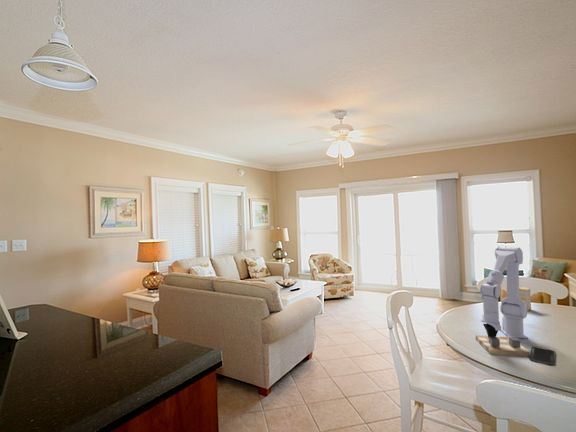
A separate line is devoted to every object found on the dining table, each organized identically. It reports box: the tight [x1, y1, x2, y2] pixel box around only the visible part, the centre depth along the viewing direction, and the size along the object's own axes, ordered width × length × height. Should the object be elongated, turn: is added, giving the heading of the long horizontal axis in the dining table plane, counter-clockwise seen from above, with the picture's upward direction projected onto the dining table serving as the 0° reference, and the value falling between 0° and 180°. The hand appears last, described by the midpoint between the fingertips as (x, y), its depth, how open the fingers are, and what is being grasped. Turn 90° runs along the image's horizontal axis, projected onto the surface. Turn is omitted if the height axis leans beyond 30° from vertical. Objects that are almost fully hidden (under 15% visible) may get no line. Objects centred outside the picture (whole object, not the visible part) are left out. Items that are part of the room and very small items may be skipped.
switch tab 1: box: [489, 337, 500, 346], centre depth 134 cm, size 3×3×3 cm
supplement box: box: [519, 286, 532, 312], centre depth 190 cm, size 8×5×13 cm, turn 30°
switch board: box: [475, 334, 531, 357], centre depth 137 cm, size 16×15×2 cm
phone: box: [528, 346, 556, 366], centre depth 127 cm, size 8×1×15 cm
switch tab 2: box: [509, 337, 521, 347], centre depth 133 cm, size 3×3×3 cm
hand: (492, 340), depth 137 cm, fingers closed
